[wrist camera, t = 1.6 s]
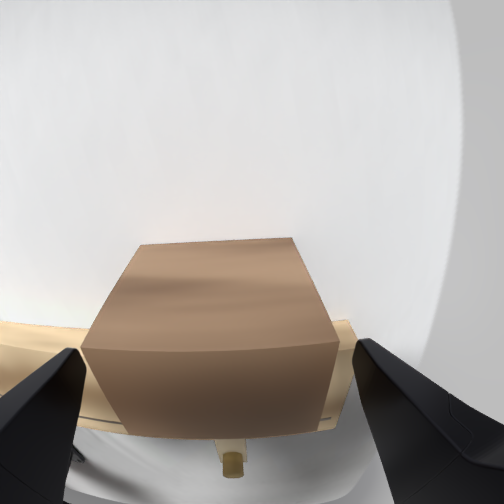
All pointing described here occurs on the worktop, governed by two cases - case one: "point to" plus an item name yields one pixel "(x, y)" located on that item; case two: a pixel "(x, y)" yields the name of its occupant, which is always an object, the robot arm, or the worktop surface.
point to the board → (94, 401)
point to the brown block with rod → (215, 344)
